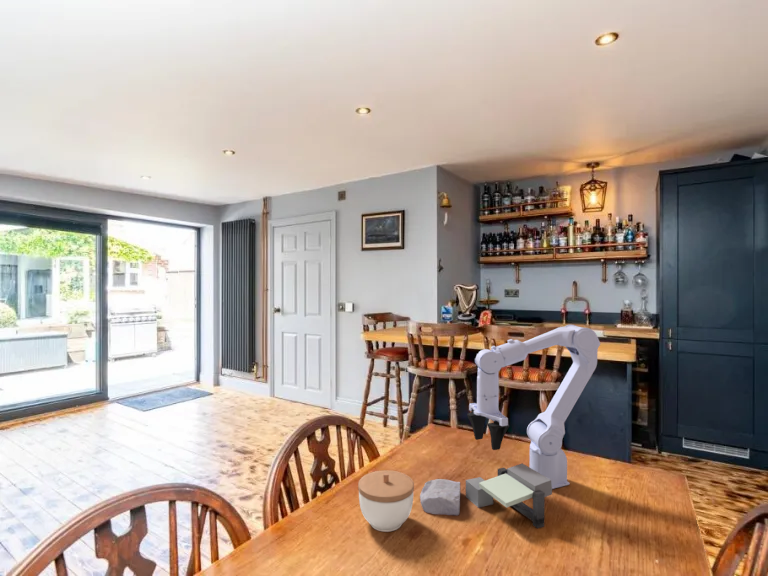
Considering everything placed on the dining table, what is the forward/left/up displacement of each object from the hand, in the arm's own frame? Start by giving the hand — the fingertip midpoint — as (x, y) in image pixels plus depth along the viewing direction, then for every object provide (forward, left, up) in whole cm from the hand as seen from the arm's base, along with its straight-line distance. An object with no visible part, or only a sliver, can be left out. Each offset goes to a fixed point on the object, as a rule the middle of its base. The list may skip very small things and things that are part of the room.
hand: (487, 444), depth 112 cm
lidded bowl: (+33, +7, -11) cm, 35 cm away
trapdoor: (+3, +15, -6) cm, 16 cm away
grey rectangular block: (+8, +10, -8) cm, 15 cm away
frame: (+2, +15, -10) cm, 18 cm away
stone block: (+17, +4, -11) cm, 21 cm away
